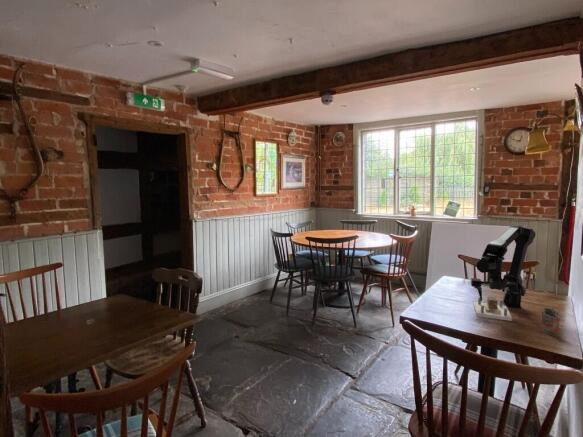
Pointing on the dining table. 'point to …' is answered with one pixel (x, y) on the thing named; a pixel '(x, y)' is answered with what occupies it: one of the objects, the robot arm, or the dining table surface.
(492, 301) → the tan boxy piece
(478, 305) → the chassis
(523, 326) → the dining table surface
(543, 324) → the reddish grey rectangular container
